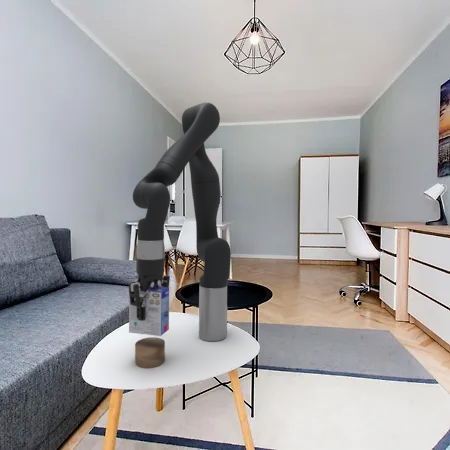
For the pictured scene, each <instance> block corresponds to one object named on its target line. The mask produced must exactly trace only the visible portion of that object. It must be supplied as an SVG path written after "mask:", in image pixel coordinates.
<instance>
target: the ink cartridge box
mask: <svg viewBox="0 0 450 450" xmlns="http://www.w3.org/2000/svg"><path fill="white" fill-rule="evenodd" d="M156 287H157V285H156V284H155V288H154V289H152V290H150V292H149V298H148V299H147V301H146V304H145V306H144V307H145V320H143V321H141V320H138V319H137V307H136V306H133V305H131V304H130V296H128V315H129V316H128V333H130V334H138V335H148V336H154V337H162V336H163V335H165V333H166V332H168V331H169V330H170V286H169V287H159V288H156ZM139 293H140V294H143V295H145V294H146V292H144V291H141V290H139ZM142 299H143V298H142V297H141V302H142Z"/></svg>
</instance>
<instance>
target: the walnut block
mask: <svg viewBox="0 0 450 450" xmlns="http://www.w3.org/2000/svg"><path fill="white" fill-rule="evenodd" d="M165 343H166V342H165V340H164V339H163V338H160V337H157V336H154V337H152V336H151V337H144V338H141V339H138V340H137V341H136V342H135V343H134V364H135V365H136V366H137V367H138V368H142V369H152V368H157V367H160V366H161V365H163V364H164V362H165V360H166V358H165V357H166V355H165V354H166V352H165V351H166V349H165V347H166V346H165Z"/></svg>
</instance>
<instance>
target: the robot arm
mask: <svg viewBox="0 0 450 450" xmlns="http://www.w3.org/2000/svg"><path fill="white" fill-rule="evenodd" d="M220 121H221V116H220V112H219V109H218V108H217V107H216V106H215V105H214V104H213V103H212V102H201V103H198V104H196V105H193V106H190V107H188V108H186V109H185V110H184V111H183V113H182V116H181V126H182V132H183V135H182V136H181V137H180V138H179V139H177V140H176V141H175V142H174V143H173V144H172V145H170V147H169V148H168V149H166V151H165V152H164V153H163V155H162V157H160V159H159V161H158V162H157V163H156V165H155V167H154V168H152V170H150V171H149V172H148V173H147V174H146V175H145V176H143V177H142V179H141V180H139V182H138V183H137V184H136V185H135V188H134V189H133V192H132V202H133V203H134V205H135V206H136V207H138V208H140V209H145V210H146V214H145V217H142V218H140V219H139V220H138V223H137V242H136V267H135V268H136V274H137V276H138V279H137V281H136V282H134V283H132V282H130V283H128V295H129V296H130V304H131V305H133V306H136V307H137V319H138V320H141V321H143V320H145V307H144V306H145V304H146V301H147V299H148V298H149V292H150V290H152V289H154V288H155V284H156V285H157V287H156V288H159V287H169V288H170V281H171V280H170V279H171V278H170V277H171V276H170V275H167V274H164V273H165V260H166V259H165V257H166V256H165V255H166V254H165V250H166V249H165V248H166V247H165V222H166V219H167V215H168V212H169V208H170V203H171V194H170V191H169V188H168V187H170V186H172V185H174V184H175V183H176V182H177V180H178V179H179V178H180V176H181V174H182V173H183V172H184V169H185V168H186V166H187V165H189V172H190V183H191V184H190V185H191V186H190V187H191V193H192V201H193V208H194V209H193V210H194V216H195V225H196V227H195V228H196V229H195V230H196V231H195V233H196V237H195V238H196V240H195V241H196V245H195V246H196V253H197V254H196V255H197V256H198V258H199V259H200V260H201V262H203V263H204V265H203V267H204V268H203V273H202V275H200V276H199V292H198V300H199V301H198V337H199V339H200V340H203V341H207V342H219V341H222V340H225V338H226V337H227V333H228V280H229V278H230V273H231V259H232V257H231V256H232V250H231V246H230V244H229V242H228V241H227V240H225V238H222V237H219V232H218V227H217V218H218V217H217V216H218V211H219V208H220V203H221V192H222V191H221V183H220V176H219V173H218V171H217V169H216V167H215V166H214V164H213V163H212V161H211V160H210V158H209V156H208V154H207V152H206V148H205V147H206V146H205V142H206V141H207V140H208V139H209V138H210V137H211V136H212V135H213V134H214V132H216V130H217V129H218V127H219V126H220ZM163 274H164V275H163ZM139 290H141V291H144V292H146V294H145V295H143V294H140V293H139ZM129 296H128V297H129ZM141 297H142V298H143V299H142V302H141Z"/></svg>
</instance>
